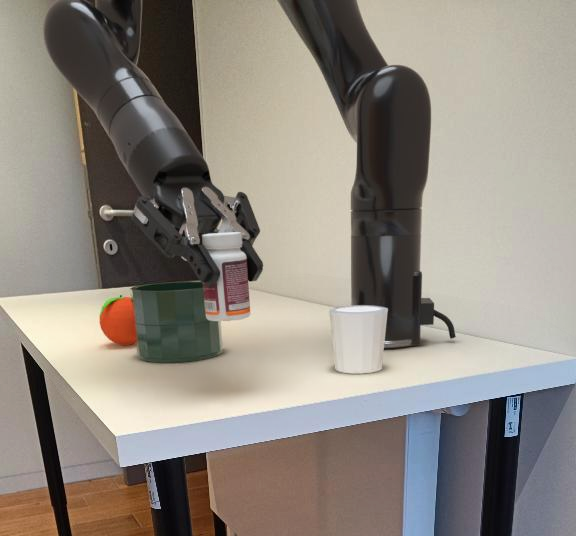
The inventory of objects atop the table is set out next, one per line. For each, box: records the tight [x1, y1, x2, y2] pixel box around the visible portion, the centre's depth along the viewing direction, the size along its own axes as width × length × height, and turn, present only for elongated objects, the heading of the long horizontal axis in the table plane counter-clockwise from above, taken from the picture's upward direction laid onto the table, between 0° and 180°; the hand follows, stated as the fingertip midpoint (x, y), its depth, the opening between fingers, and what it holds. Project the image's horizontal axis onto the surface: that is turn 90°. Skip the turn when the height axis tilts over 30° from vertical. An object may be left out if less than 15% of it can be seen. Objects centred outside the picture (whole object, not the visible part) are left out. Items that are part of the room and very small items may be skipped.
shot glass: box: [328, 305, 388, 375], centre depth 89 cm, size 7×7×7 cm
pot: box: [129, 280, 223, 364], centre depth 101 cm, size 11×11×9 cm
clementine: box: [99, 294, 136, 346], centre depth 109 cm, size 8×7×7 cm
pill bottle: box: [201, 231, 251, 322], centre depth 77 cm, size 5×5×8 cm
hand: (236, 277), depth 76 cm, fingers closed on pill bottle, 4 cm apart
